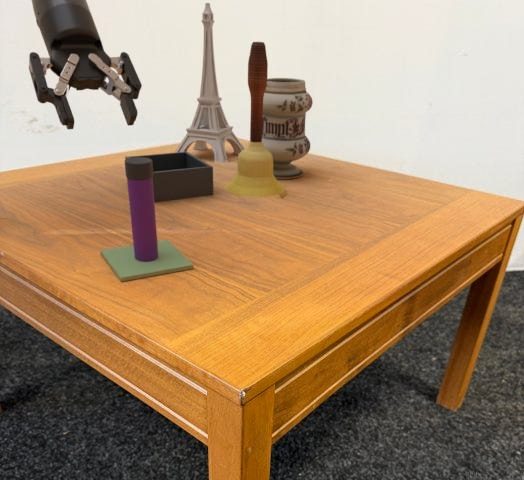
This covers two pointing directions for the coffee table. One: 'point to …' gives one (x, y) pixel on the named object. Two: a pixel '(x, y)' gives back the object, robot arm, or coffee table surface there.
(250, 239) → the coffee table surface
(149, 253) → the marker
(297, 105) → the apothecary jar
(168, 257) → the mat
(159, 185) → the bin
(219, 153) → the eiffel tower
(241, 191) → the handbell
